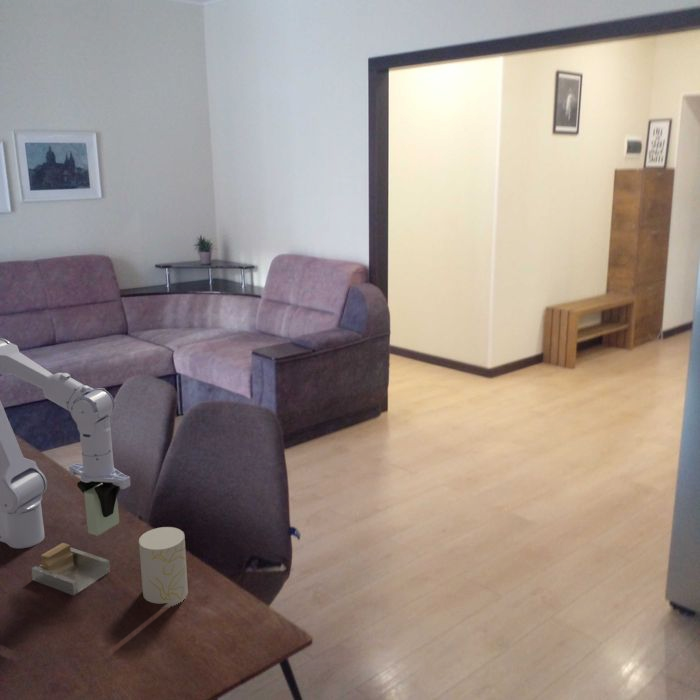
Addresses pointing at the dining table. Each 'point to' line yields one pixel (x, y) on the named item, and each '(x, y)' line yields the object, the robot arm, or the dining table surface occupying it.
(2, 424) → the robot arm
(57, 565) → the offcut stack
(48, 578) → the rack
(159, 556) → the cup
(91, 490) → the sage green tall pillar
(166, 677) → the dining table surface
